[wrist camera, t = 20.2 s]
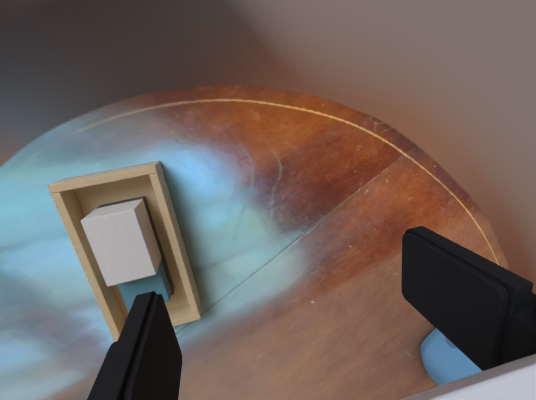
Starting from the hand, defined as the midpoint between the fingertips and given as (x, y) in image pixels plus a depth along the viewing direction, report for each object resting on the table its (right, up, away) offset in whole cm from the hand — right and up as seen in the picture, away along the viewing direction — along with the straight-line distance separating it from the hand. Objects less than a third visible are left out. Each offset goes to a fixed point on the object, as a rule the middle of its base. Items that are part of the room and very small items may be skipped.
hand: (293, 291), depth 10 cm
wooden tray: (-16, -2, +21) cm, 26 cm away
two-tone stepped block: (-15, -2, +20) cm, 26 cm away
